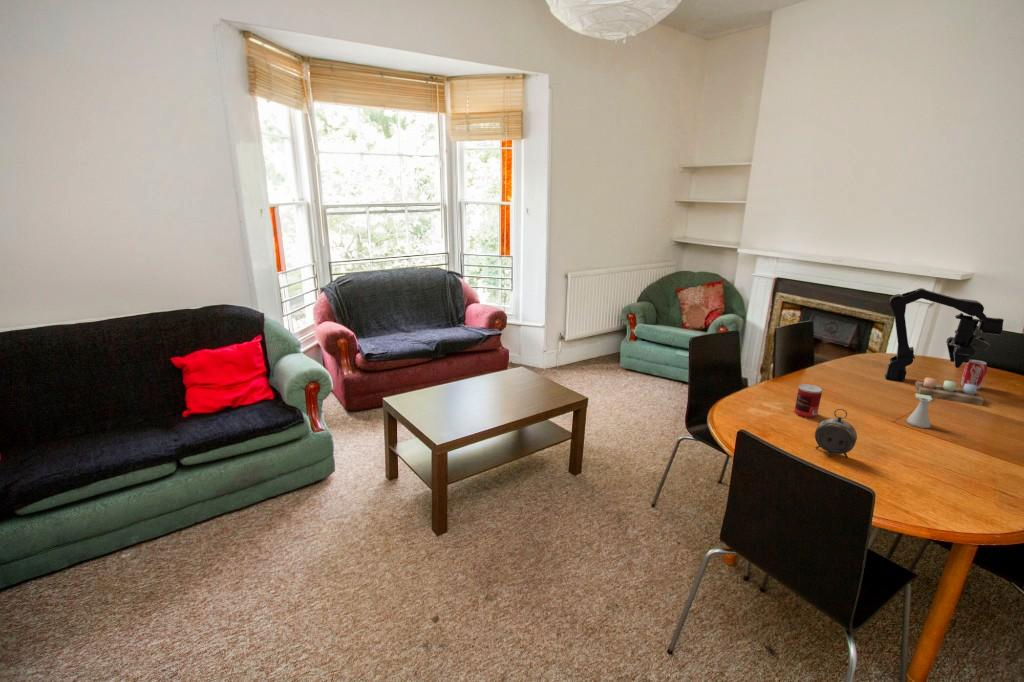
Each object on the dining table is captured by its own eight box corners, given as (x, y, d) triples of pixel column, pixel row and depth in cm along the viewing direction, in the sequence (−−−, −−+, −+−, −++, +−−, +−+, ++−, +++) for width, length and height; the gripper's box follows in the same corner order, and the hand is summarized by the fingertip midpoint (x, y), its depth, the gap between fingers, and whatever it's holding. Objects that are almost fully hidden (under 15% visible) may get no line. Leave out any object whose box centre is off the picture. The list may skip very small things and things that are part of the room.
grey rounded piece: (962, 395, 203) (965, 385, 202) (960, 392, 206) (963, 382, 205) (975, 397, 201) (978, 387, 200) (973, 394, 204) (976, 384, 203)
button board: (919, 394, 207) (920, 389, 206) (914, 386, 217) (916, 380, 216) (981, 405, 197) (983, 399, 197) (974, 395, 207) (975, 390, 206)
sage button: (942, 392, 206) (945, 382, 205) (940, 389, 209) (943, 379, 208) (955, 394, 204) (957, 384, 203) (952, 391, 207) (955, 381, 206)
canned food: (815, 412, 189) (820, 385, 186) (818, 420, 182) (823, 393, 179) (793, 408, 192) (798, 382, 189) (794, 416, 185) (800, 389, 182)
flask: (925, 421, 182) (932, 397, 179) (934, 430, 176) (941, 404, 173) (902, 418, 185) (909, 394, 182) (910, 427, 178) (917, 401, 175)
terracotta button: (923, 388, 209) (925, 379, 208) (921, 386, 212) (924, 376, 211) (935, 390, 207) (937, 381, 206) (933, 387, 210) (936, 378, 209)
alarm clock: (852, 457, 157) (863, 411, 152) (849, 463, 153) (860, 416, 148) (813, 446, 163) (823, 401, 159) (810, 452, 160) (819, 406, 155)
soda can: (985, 390, 213) (993, 364, 210) (969, 390, 213) (977, 364, 210) (971, 384, 220) (978, 359, 216) (955, 384, 220) (962, 359, 216)
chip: (916, 398, 203) (917, 397, 203) (915, 394, 208) (915, 393, 207) (932, 401, 201) (932, 399, 201) (930, 397, 205) (930, 395, 205)
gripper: (998, 339, 195) (985, 375, 200) (984, 328, 211) (973, 362, 215) (962, 334, 201) (950, 369, 205) (951, 324, 216) (940, 357, 221)
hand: (954, 364), depth 212 cm, fingers open, 9 cm apart
